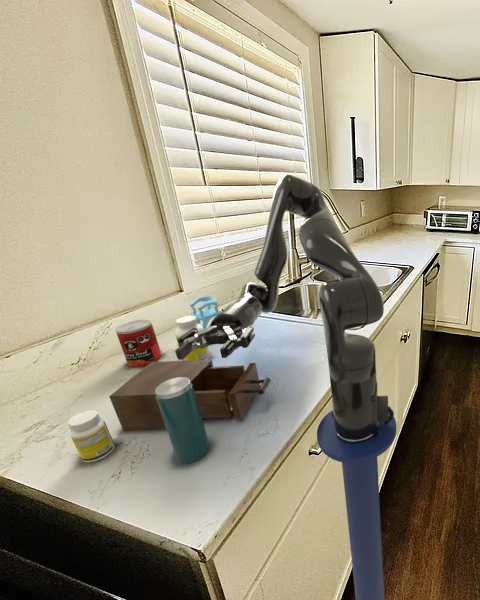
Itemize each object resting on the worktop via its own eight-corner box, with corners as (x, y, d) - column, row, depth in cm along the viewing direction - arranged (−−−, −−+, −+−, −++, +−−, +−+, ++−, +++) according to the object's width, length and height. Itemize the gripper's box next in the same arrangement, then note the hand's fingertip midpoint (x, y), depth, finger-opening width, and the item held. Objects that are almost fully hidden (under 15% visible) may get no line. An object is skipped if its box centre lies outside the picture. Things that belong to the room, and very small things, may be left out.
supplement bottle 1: (89, 447, 63) (73, 412, 60) (119, 440, 64) (105, 405, 61) (77, 466, 58) (59, 430, 55) (109, 458, 60) (93, 422, 57)
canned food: (122, 369, 88) (108, 333, 84) (137, 354, 95) (125, 320, 91) (153, 366, 89) (141, 330, 86) (166, 351, 97) (156, 318, 93)
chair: (192, 334, 107) (182, 300, 103) (216, 324, 114) (209, 292, 110) (204, 340, 103) (195, 305, 99) (229, 330, 110) (221, 297, 106)
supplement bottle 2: (187, 356, 94) (175, 315, 90) (212, 352, 96) (202, 312, 91) (180, 368, 88) (168, 325, 84) (208, 364, 90) (197, 322, 85)
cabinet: (219, 390, 79) (211, 359, 76) (190, 427, 67) (180, 393, 64) (161, 392, 78) (151, 361, 75) (122, 430, 67) (108, 396, 64)
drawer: (278, 386, 79) (273, 362, 76) (261, 419, 68) (256, 392, 66) (207, 389, 78) (201, 364, 76) (179, 422, 67) (171, 395, 65)
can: (215, 440, 64) (197, 375, 58) (200, 463, 59) (179, 394, 53) (187, 441, 64) (166, 376, 58) (170, 464, 59) (146, 396, 53)
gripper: (201, 307, 78) (158, 339, 63) (262, 305, 78) (233, 336, 63) (208, 335, 80) (168, 372, 65) (267, 333, 81) (240, 369, 66)
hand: (200, 354), depth 64 cm, fingers open, 8 cm apart
